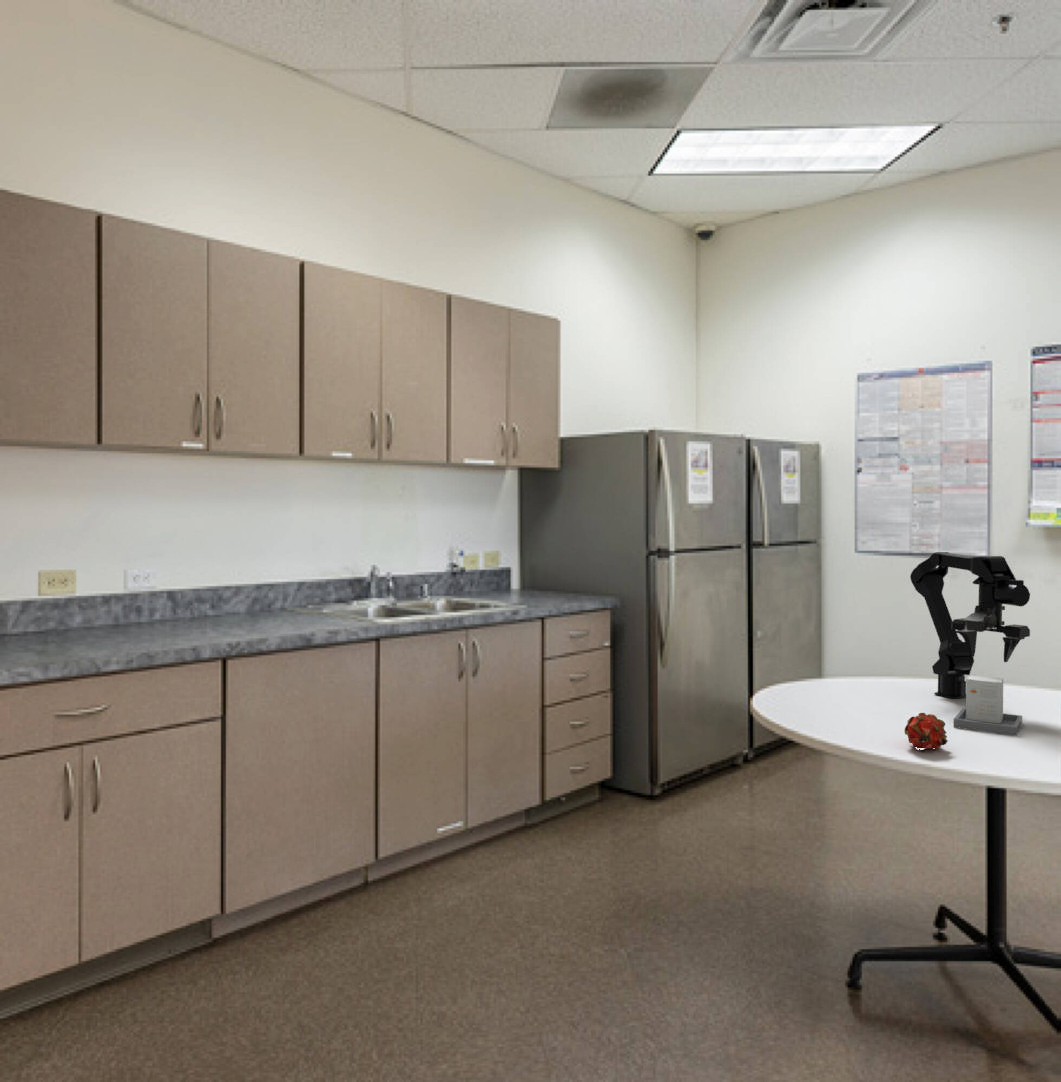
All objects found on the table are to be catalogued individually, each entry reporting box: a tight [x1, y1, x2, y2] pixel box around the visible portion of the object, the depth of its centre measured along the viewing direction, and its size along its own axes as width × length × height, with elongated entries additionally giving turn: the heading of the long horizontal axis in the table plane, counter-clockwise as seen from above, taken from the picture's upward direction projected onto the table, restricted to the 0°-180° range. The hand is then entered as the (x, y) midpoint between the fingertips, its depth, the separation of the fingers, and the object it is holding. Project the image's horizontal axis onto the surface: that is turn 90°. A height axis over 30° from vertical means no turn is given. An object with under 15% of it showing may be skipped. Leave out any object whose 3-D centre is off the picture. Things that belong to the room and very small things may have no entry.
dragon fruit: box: [904, 712, 949, 750], centre depth 193 cm, size 8×8×12 cm
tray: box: [953, 707, 1023, 736], centre depth 213 cm, size 14×14×2 cm
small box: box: [965, 675, 1004, 724], centre depth 216 cm, size 8×6×10 cm
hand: (988, 659), depth 232 cm, fingers open, 9 cm apart
